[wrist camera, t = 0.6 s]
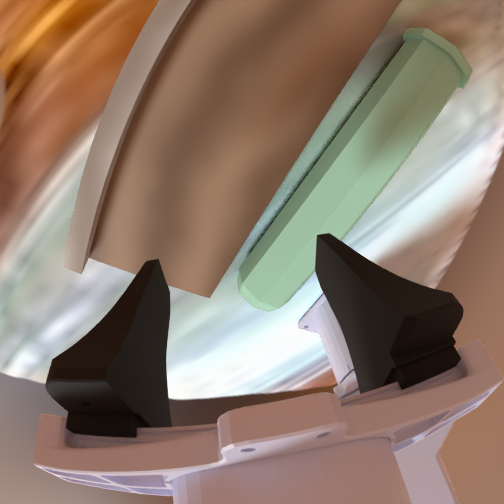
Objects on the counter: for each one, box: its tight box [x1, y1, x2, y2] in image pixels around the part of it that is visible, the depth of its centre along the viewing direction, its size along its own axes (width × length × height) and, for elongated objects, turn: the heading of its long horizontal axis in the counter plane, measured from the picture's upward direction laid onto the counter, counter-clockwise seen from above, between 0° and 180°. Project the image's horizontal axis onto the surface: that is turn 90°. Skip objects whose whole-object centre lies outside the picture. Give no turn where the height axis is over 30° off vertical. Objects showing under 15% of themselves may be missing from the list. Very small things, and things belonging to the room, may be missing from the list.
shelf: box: [64, 0, 401, 298], centre depth 16 cm, size 12×28×4 cm, turn 150°
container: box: [238, 28, 472, 312], centre depth 20 cm, size 6×6×25 cm
